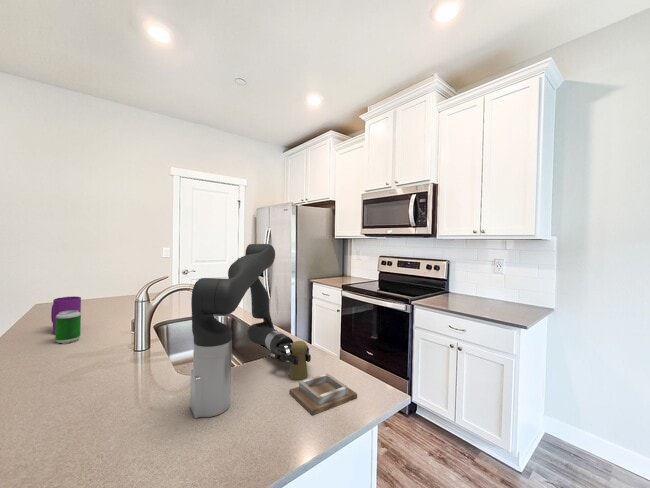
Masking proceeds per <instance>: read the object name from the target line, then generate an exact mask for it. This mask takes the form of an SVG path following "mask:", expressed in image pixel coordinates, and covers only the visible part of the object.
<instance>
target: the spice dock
mask: <svg viewBox="0 0 650 488" xmlns="http://www.w3.org/2000/svg"><path fill="white" fill-rule="evenodd" d="M288 390H289V395H290V396H291V397H292V398H293V399H295V401H296V402H298V403H299V405H301V406H302V408H304V409H305V410H306V411H307V412H308V413H309V414H310V415H311V416H314V415H317V414H320V413H323V412H325V411H326V410H330V409H333V408H335V407H337V406H340V405H342V404H345V403H347V402H350V401H352V400H355V399H357V398H358V393H357V392H356V391H354V390H352V388H349V387H348V386H347V385H345V384H344V383H342V382H341V381H339V380H338V379H336V378H335V377H333V376H332V375H331V374H329V373H323V374H321V375H318V376H315V377H311V378H306V379H304V380H299V381H298V386H296V387H294V388H290V389H288Z"/></svg>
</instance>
